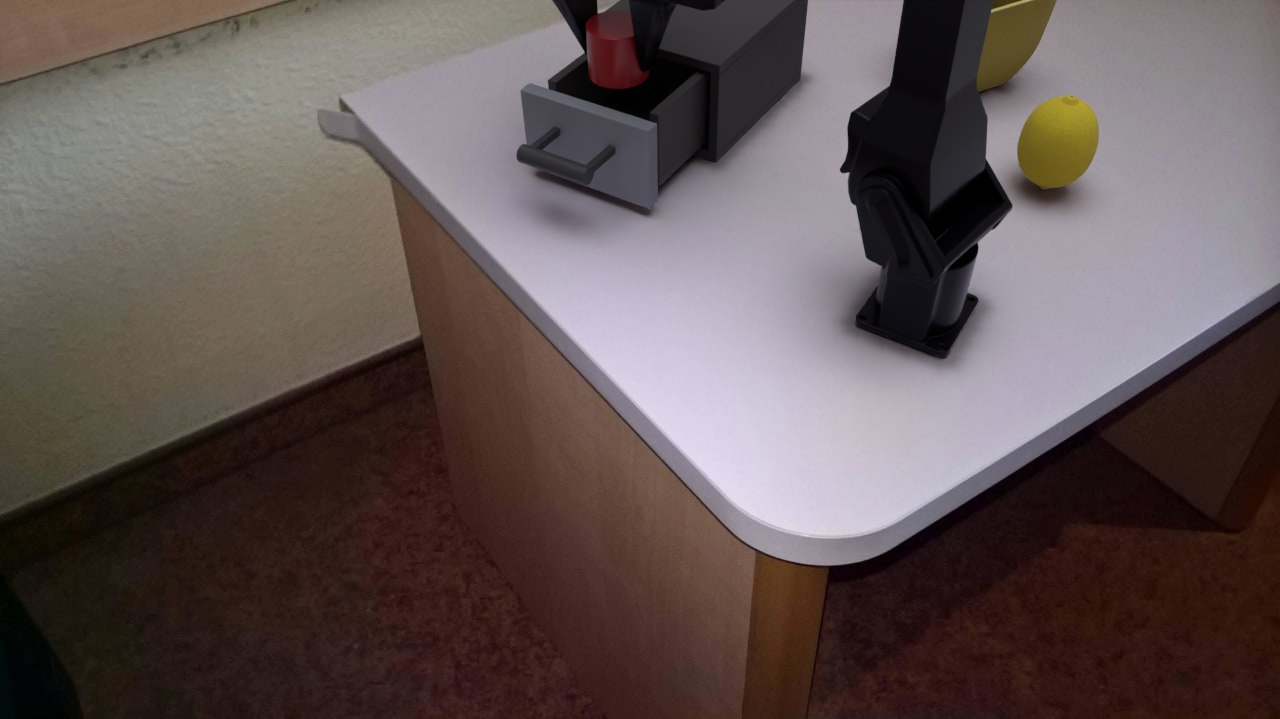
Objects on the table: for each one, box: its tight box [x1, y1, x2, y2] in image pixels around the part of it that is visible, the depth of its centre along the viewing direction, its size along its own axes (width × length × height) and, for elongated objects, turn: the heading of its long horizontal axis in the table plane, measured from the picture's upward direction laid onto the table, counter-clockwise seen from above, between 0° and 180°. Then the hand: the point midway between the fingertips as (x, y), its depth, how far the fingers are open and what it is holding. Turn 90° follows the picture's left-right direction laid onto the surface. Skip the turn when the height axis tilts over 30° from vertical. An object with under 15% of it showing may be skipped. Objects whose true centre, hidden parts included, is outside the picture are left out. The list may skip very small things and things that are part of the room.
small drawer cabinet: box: [583, 0, 809, 163], centre depth 88 cm, size 16×13×9 cm
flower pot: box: [977, 0, 1058, 93], centre depth 89 cm, size 9×9×9 cm
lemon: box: [1016, 94, 1100, 190], centre depth 77 cm, size 6×6×8 cm
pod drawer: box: [516, 53, 711, 210], centre depth 80 cm, size 19×11×7 cm, turn 148°
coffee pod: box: [586, 10, 649, 89], centre depth 76 cm, size 5×5×4 cm
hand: (619, 61), depth 77 cm, fingers closed on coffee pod, 4 cm apart
